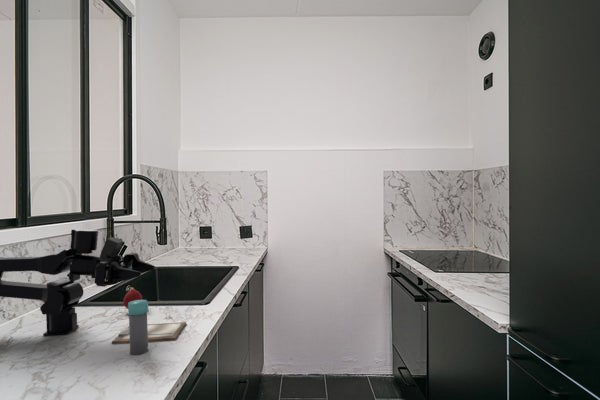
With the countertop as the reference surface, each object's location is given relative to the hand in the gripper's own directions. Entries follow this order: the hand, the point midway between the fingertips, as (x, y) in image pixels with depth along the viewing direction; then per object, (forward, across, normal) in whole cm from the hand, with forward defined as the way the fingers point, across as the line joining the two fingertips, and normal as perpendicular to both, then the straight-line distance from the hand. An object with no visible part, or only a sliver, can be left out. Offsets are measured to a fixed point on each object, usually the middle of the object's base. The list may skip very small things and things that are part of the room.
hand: (147, 270), depth 102 cm
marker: (+6, -15, +16) cm, 23 cm away
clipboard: (+4, -4, +16) cm, 17 cm away
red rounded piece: (-11, +17, +18) cm, 27 cm away
